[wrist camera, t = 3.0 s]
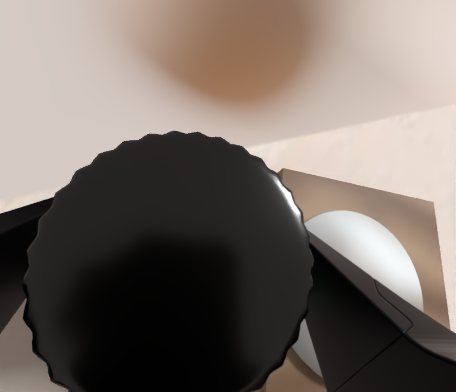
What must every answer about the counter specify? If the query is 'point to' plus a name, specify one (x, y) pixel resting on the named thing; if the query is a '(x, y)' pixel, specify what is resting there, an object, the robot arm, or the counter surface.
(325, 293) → the robot arm
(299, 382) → the walnut board
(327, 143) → the counter surface
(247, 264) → the supplement bottle
